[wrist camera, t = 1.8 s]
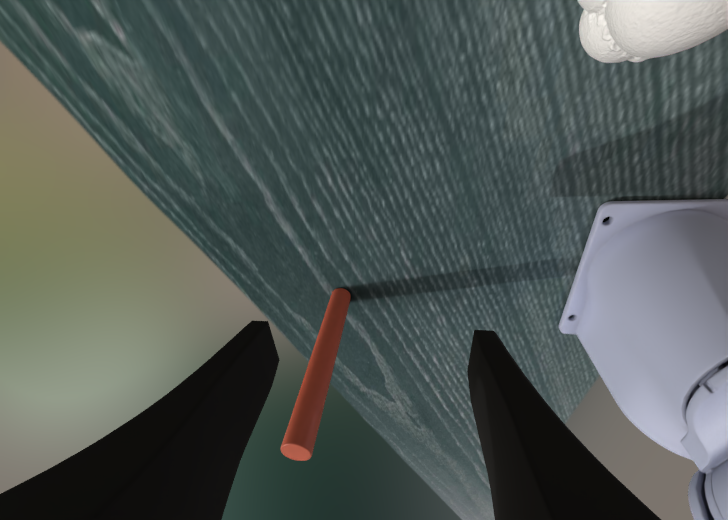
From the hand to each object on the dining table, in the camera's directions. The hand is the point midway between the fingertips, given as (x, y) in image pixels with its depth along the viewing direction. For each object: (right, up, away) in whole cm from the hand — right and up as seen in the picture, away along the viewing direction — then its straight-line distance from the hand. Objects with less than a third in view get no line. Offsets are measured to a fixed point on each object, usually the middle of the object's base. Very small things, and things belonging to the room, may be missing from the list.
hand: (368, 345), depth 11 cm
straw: (-2, 0, +12) cm, 12 cm away
